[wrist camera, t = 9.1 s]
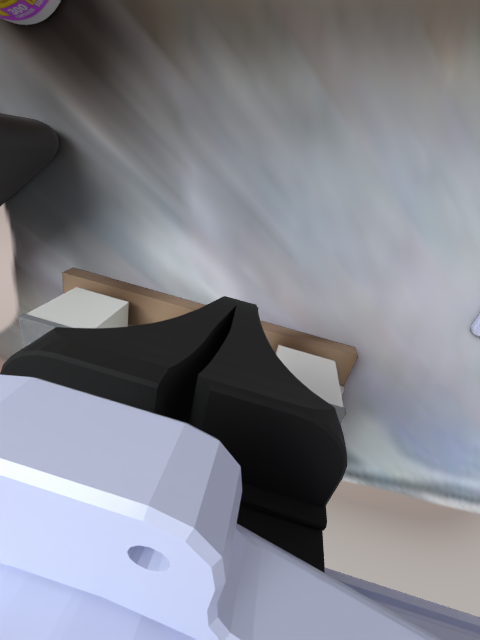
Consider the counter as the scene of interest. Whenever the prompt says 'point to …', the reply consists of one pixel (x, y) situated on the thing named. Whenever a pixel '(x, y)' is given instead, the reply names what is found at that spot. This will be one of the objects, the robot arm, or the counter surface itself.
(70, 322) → the mounted modules
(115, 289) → the rail board
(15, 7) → the supplement bottle
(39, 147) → the leaning round-cornered charcoal block
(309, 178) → the counter surface
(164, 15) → the counter surface
